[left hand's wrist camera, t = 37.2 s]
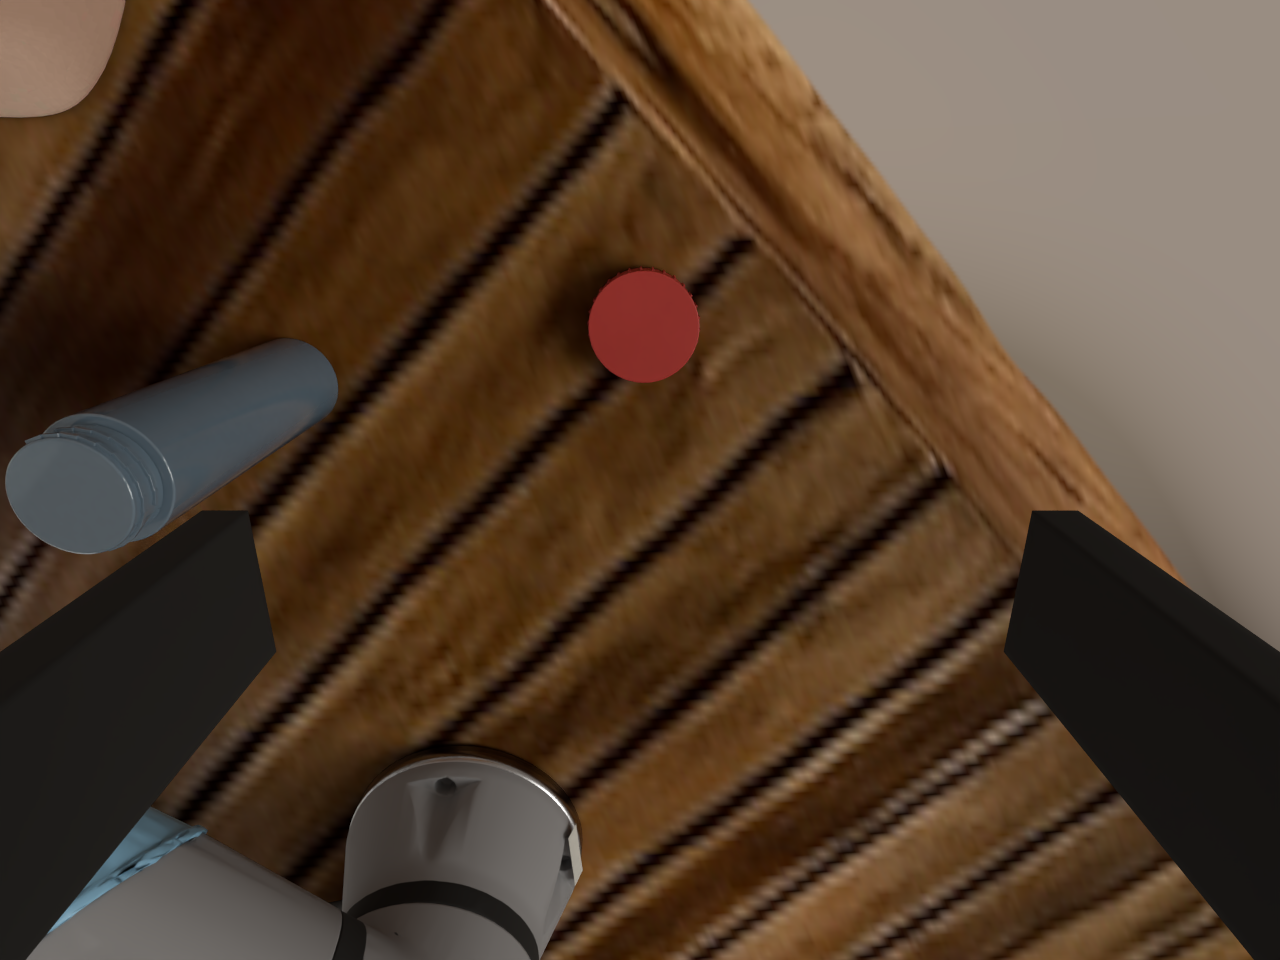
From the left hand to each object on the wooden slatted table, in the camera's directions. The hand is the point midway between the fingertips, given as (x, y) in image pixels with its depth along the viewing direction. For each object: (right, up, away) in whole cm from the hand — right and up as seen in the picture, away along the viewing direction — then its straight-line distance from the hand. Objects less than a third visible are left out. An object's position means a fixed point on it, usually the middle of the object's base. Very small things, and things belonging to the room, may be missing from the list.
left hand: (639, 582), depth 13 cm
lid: (0, +9, +24) cm, 26 cm away
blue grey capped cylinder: (-18, +7, +27) cm, 33 cm away
